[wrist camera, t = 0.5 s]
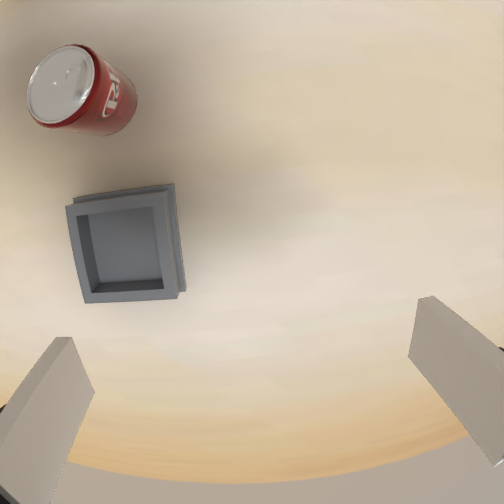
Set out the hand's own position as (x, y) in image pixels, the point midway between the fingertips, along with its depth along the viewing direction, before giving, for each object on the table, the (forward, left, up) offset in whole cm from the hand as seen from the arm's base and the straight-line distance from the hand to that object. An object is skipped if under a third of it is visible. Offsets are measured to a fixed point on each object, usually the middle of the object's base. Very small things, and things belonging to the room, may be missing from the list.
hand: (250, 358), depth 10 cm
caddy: (+1, -12, -25) cm, 27 cm away
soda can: (-15, -13, -25) cm, 32 cm away
